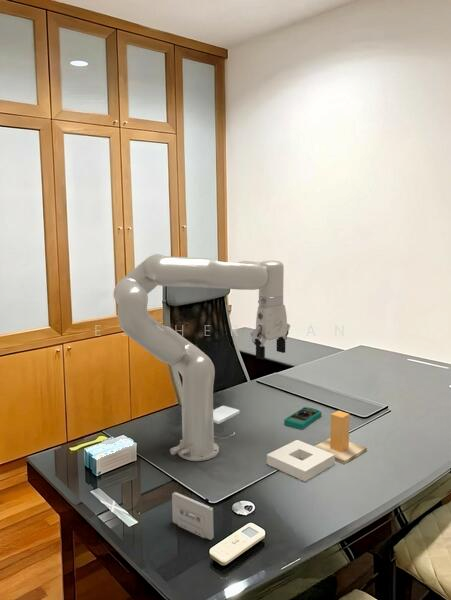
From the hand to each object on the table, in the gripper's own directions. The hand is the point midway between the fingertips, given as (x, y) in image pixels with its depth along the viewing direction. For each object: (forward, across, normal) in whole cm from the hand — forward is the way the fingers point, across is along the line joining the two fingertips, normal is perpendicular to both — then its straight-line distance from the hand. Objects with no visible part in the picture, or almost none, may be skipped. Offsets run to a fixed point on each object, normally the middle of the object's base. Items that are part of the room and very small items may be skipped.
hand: (270, 355), depth 166 cm
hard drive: (+29, +2, +26) cm, 39 cm away
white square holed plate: (+28, -6, -17) cm, 34 cm away
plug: (+27, +9, -20) cm, 35 cm away
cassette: (+29, -49, -19) cm, 60 cm away
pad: (+28, +9, -20) cm, 36 cm away
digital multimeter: (+29, +20, +2) cm, 35 cm away
